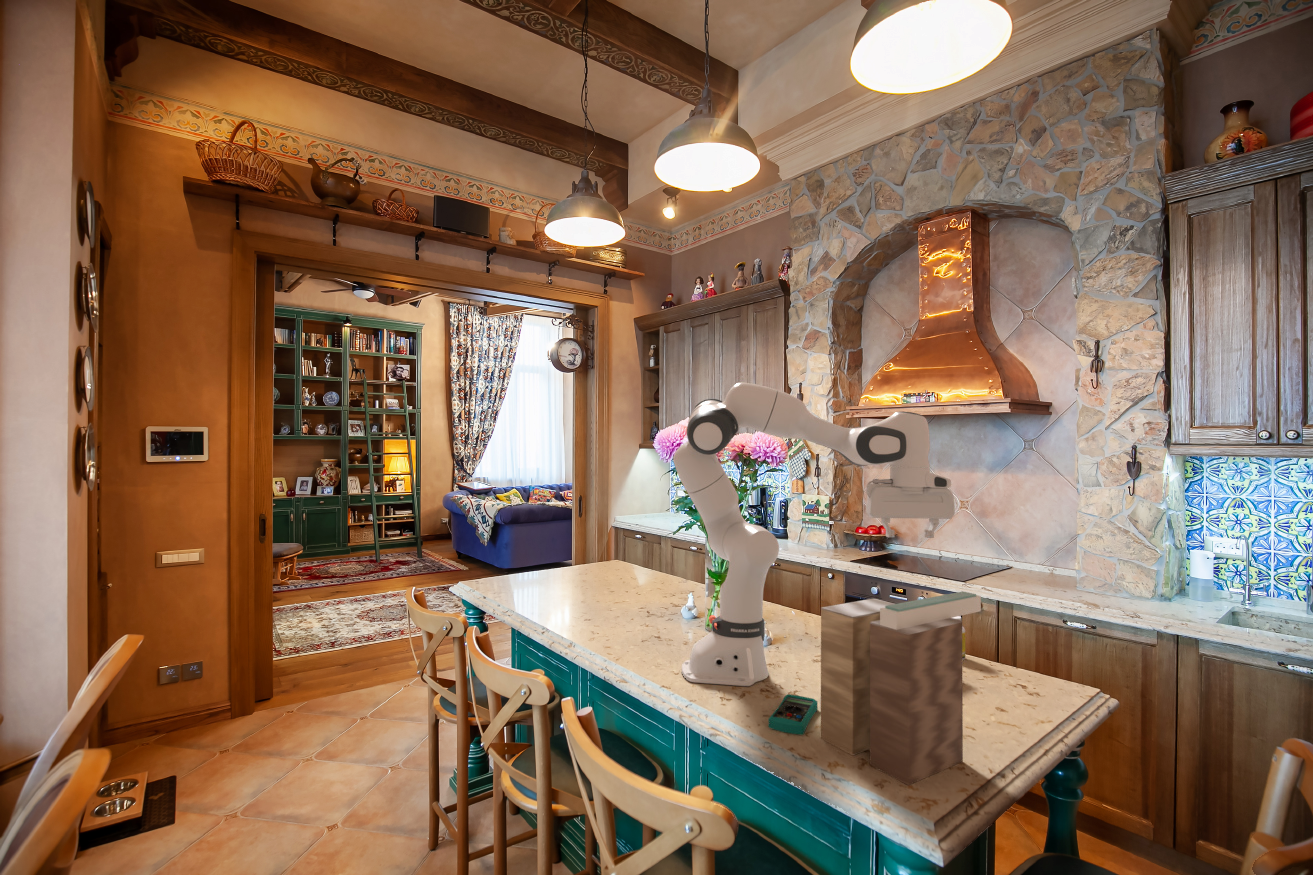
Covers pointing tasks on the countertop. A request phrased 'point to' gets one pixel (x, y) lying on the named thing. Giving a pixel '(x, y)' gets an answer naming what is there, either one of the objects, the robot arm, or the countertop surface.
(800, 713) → the digital multimeter
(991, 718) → the countertop surface
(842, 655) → the oak post
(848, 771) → the countertop surface
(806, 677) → the countertop surface
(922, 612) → the bar
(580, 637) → the countertop surface
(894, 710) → the walnut post
